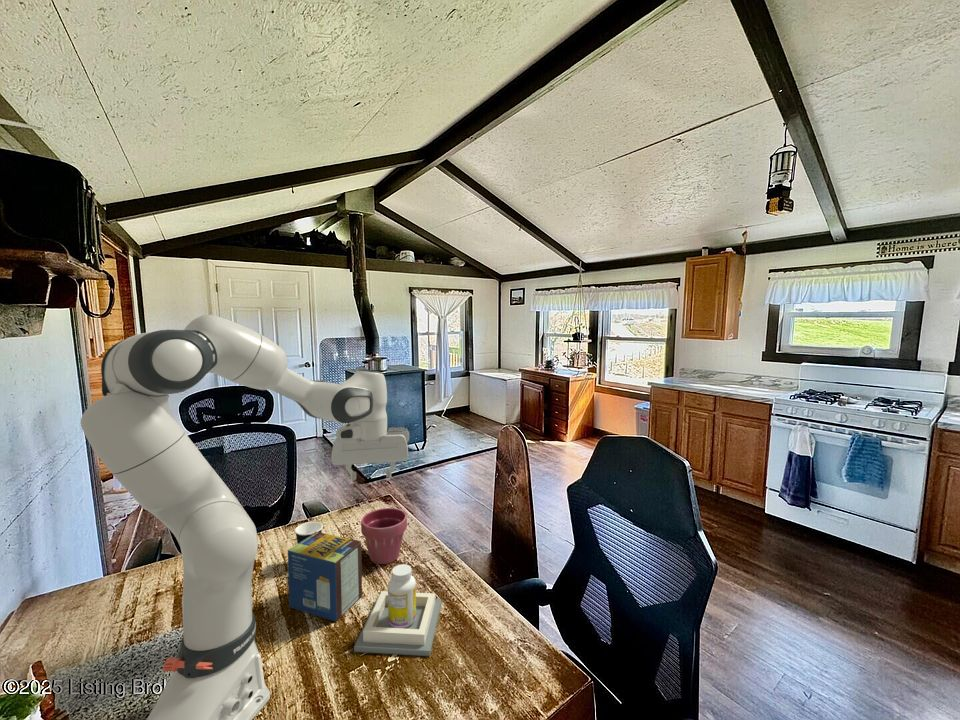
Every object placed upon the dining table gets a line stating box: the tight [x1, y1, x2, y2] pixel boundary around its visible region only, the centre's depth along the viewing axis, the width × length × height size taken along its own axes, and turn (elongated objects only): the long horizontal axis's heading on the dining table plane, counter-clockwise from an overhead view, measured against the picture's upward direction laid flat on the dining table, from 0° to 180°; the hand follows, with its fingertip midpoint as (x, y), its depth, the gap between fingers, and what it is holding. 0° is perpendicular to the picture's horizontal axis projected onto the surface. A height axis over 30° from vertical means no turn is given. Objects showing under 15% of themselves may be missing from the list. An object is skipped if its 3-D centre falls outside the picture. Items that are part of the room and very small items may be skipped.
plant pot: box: [360, 507, 408, 565], centre depth 125 cm, size 14×14×13 cm
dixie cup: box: [294, 521, 324, 544], centre depth 122 cm, size 8×8×11 cm
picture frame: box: [353, 590, 443, 657], centre depth 96 cm, size 17×17×4 cm
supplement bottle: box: [387, 563, 417, 628], centre depth 96 cm, size 7×7×13 cm
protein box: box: [287, 532, 363, 622], centre depth 104 cm, size 10×15×16 cm
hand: (371, 478), depth 109 cm, fingers open, 8 cm apart
